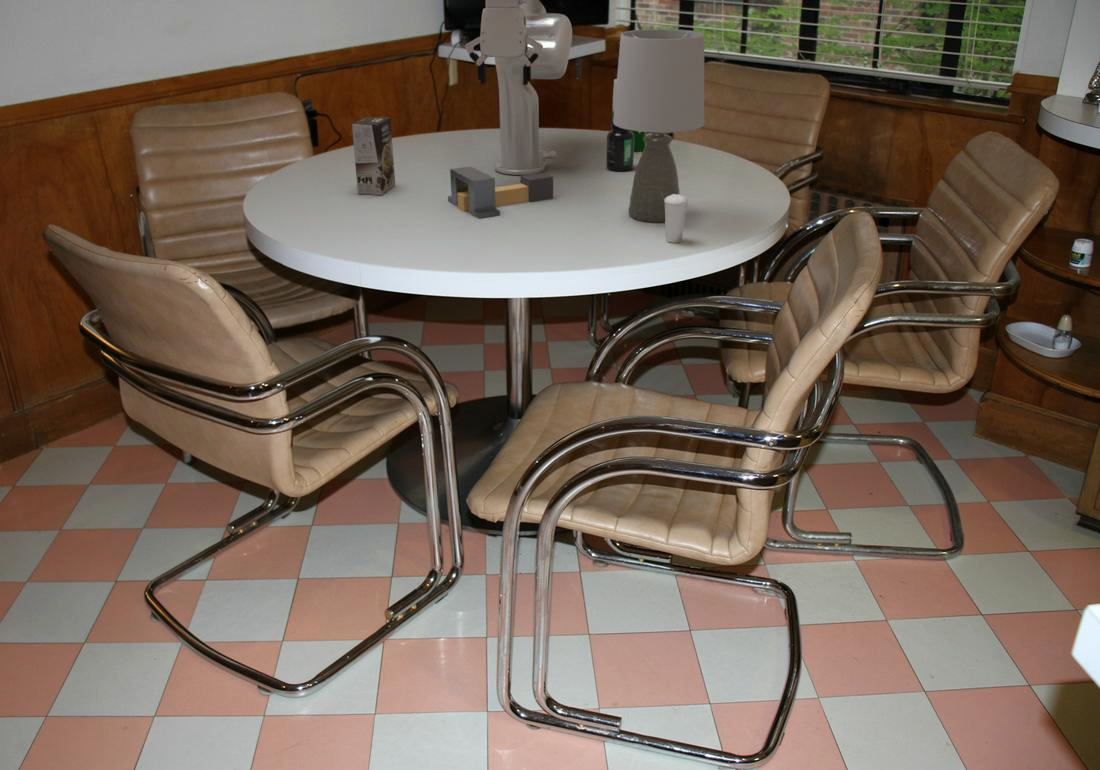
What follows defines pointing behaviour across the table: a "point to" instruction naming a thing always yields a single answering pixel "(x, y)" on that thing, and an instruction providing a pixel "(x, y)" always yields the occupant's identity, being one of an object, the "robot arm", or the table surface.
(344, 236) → the table surface
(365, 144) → the coffee box
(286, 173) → the table surface
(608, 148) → the supplement bottle
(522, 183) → the plug
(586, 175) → the table surface
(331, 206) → the table surface
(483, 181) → the housing
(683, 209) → the milkshake
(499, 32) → the robot arm
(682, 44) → the lamp
